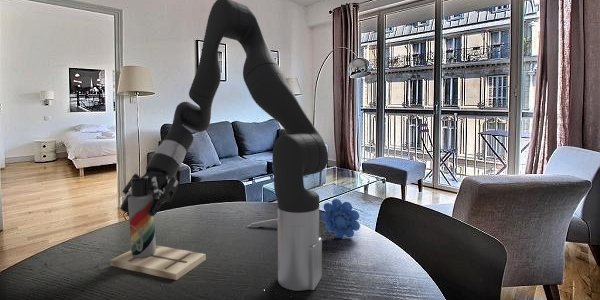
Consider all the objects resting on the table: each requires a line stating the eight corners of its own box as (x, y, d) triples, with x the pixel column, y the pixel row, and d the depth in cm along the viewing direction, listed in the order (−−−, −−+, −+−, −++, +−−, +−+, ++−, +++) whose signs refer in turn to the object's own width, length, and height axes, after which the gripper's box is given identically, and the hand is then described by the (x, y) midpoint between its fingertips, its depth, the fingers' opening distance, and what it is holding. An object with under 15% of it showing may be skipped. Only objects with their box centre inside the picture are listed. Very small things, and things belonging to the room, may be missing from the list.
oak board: (205, 259, 87) (205, 253, 87) (176, 280, 77) (176, 273, 77) (145, 248, 94) (144, 242, 94) (110, 265, 84) (110, 259, 84)
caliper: (309, 227, 111) (309, 208, 110) (309, 228, 110) (309, 209, 109) (247, 227, 111) (247, 208, 111) (247, 228, 110) (246, 209, 110)
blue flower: (319, 242, 98) (320, 202, 97) (321, 233, 105) (321, 196, 103) (360, 244, 97) (361, 203, 95) (359, 235, 103) (360, 197, 102)
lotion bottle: (129, 259, 84) (124, 180, 81) (134, 250, 89) (129, 175, 86) (154, 256, 85) (149, 178, 83) (157, 247, 91) (153, 174, 88)
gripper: (139, 150, 93) (105, 202, 84) (181, 153, 88) (150, 208, 79) (154, 166, 99) (124, 216, 90) (195, 169, 94) (167, 223, 85)
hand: (136, 212), depth 84 cm, fingers open, 8 cm apart
